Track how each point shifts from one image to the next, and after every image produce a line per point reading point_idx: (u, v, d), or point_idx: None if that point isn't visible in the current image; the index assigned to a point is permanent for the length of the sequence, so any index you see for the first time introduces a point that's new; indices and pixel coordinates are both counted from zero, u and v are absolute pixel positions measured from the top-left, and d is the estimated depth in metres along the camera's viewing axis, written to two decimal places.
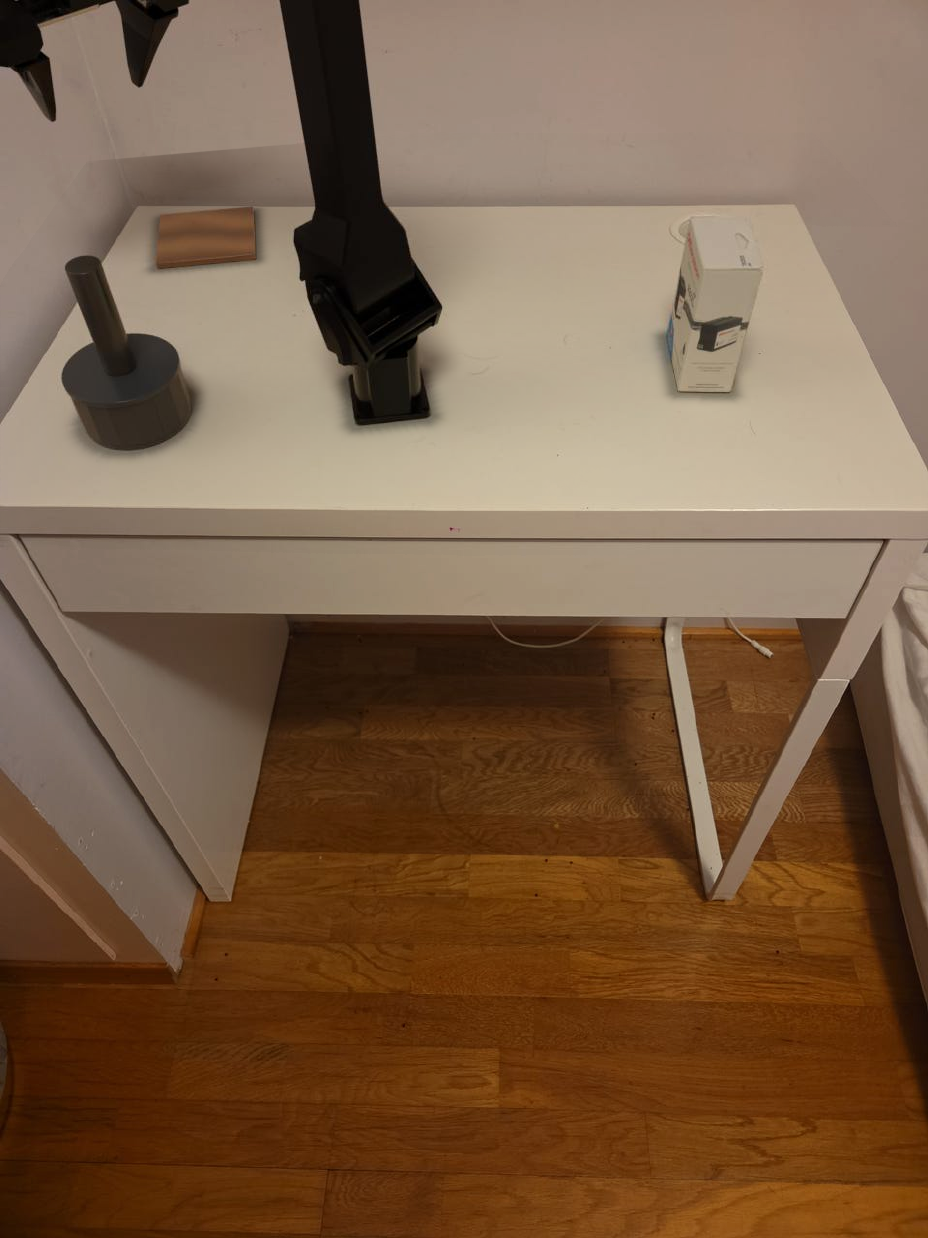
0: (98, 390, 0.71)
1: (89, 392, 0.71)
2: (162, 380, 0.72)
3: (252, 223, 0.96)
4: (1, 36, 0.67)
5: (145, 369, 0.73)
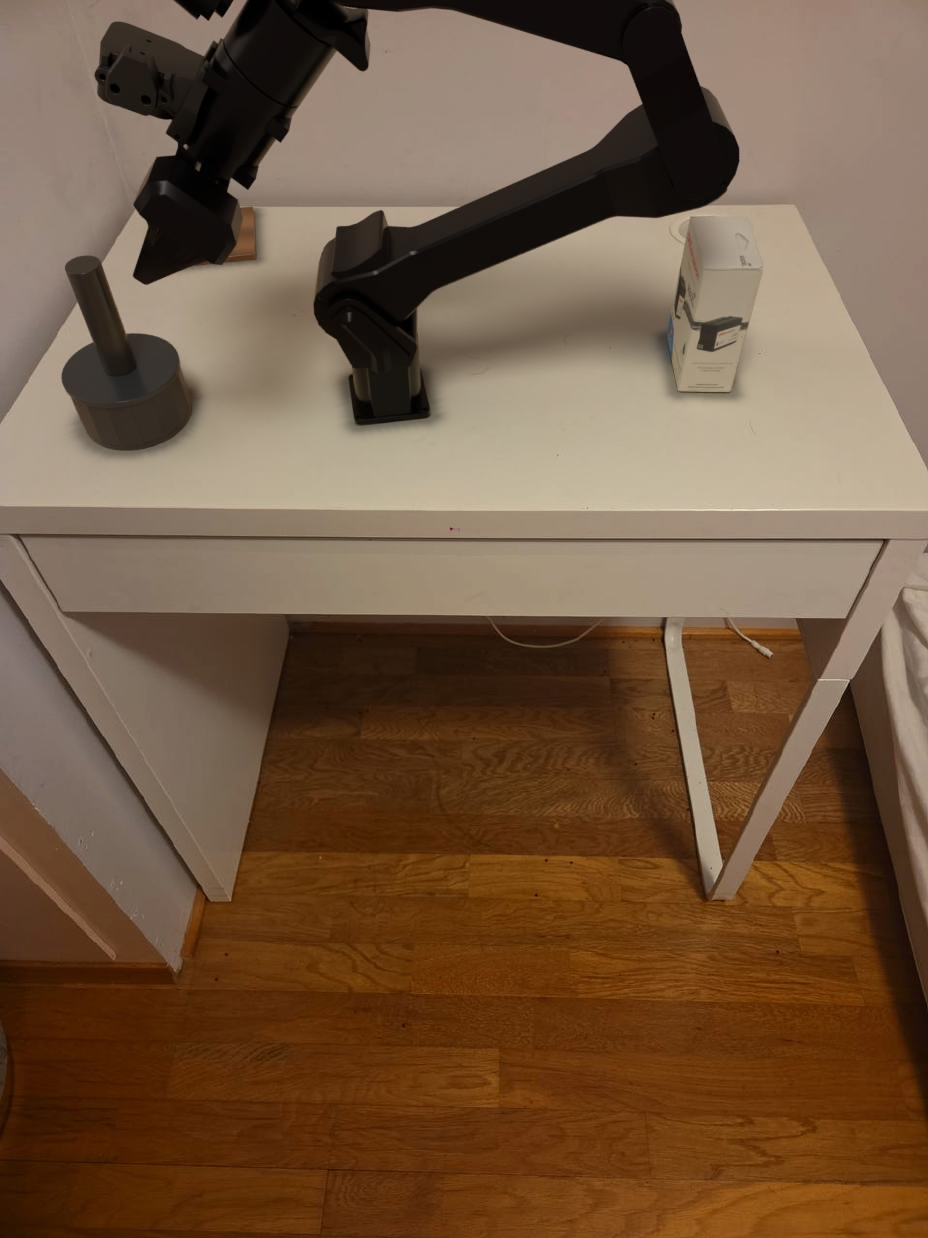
0: (98, 390, 0.71)
1: (89, 392, 0.71)
2: (162, 380, 0.72)
3: (252, 223, 0.96)
4: (235, 237, 0.57)
5: (145, 369, 0.73)
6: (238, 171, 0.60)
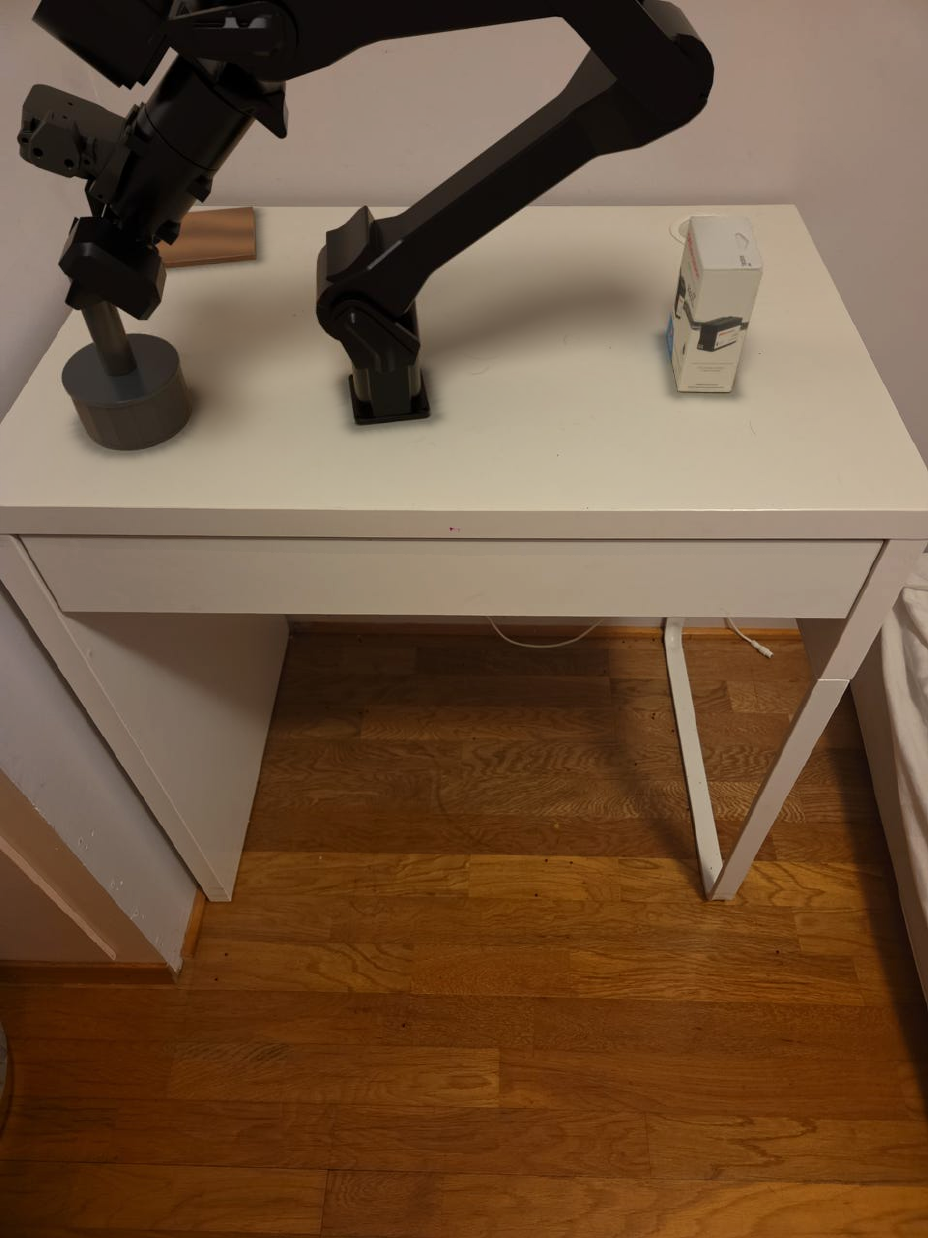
0: (98, 390, 0.71)
1: (89, 392, 0.71)
2: (162, 380, 0.72)
3: (252, 223, 0.96)
4: (160, 294, 0.59)
5: (145, 369, 0.73)
6: (161, 228, 0.62)
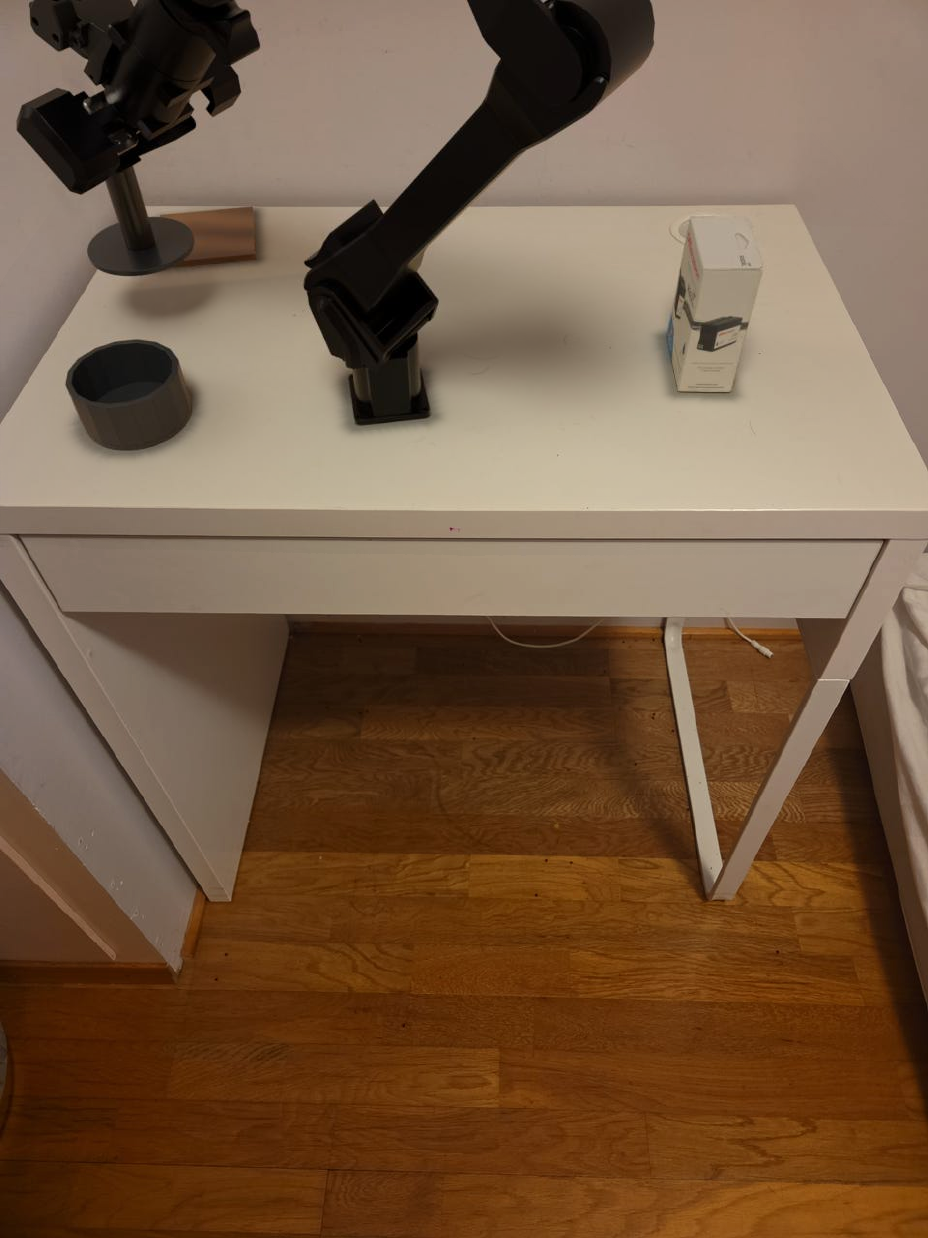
0: (105, 254, 0.79)
1: (99, 253, 0.79)
2: (154, 265, 0.78)
3: (252, 223, 0.96)
4: (88, 174, 0.65)
5: (153, 251, 0.79)
6: (139, 122, 0.67)
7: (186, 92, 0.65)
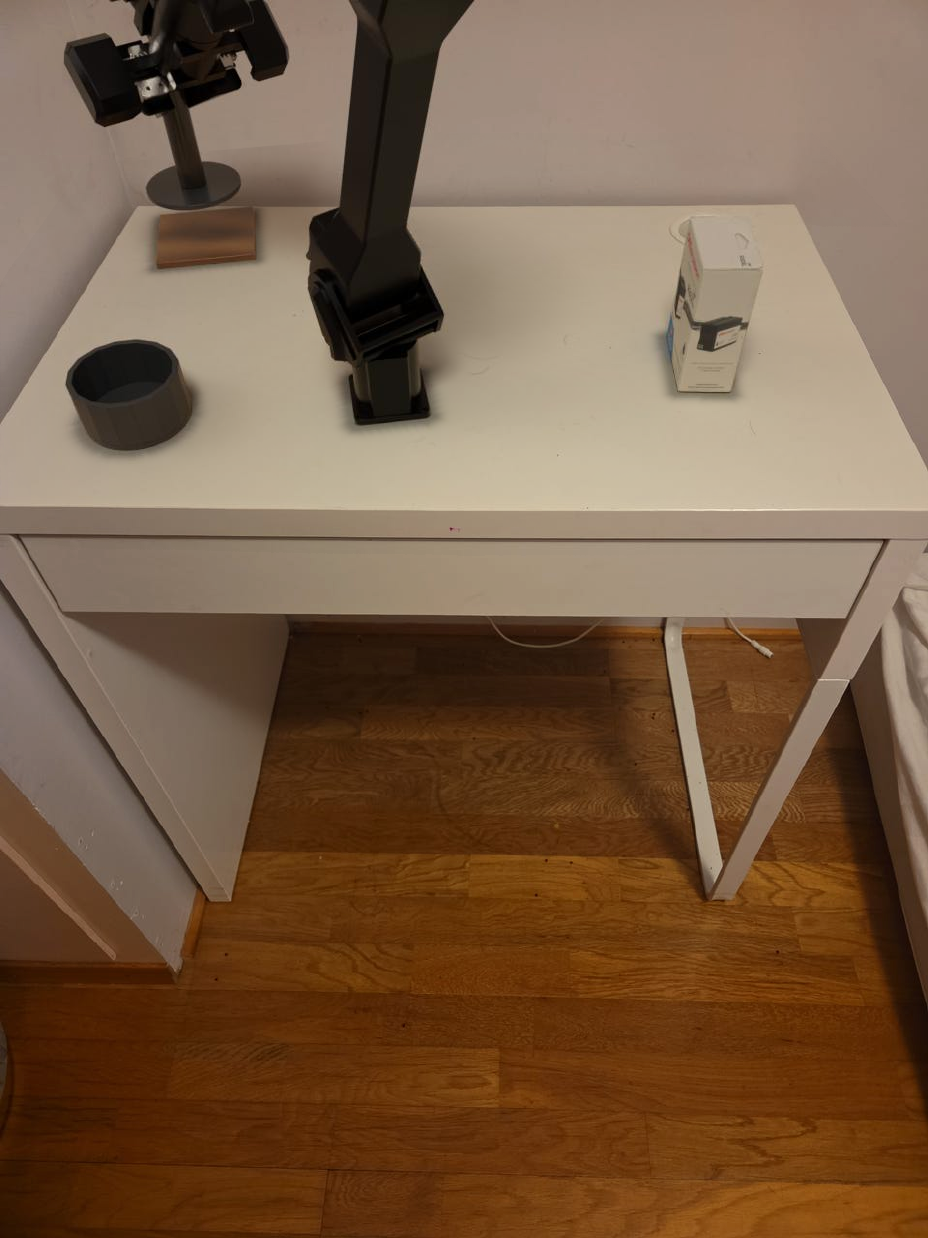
0: (160, 186, 0.90)
1: (155, 184, 0.90)
2: (189, 203, 0.87)
3: (252, 223, 0.96)
4: (106, 110, 0.74)
5: (197, 192, 0.89)
6: (168, 73, 0.76)
7: (201, 53, 0.73)
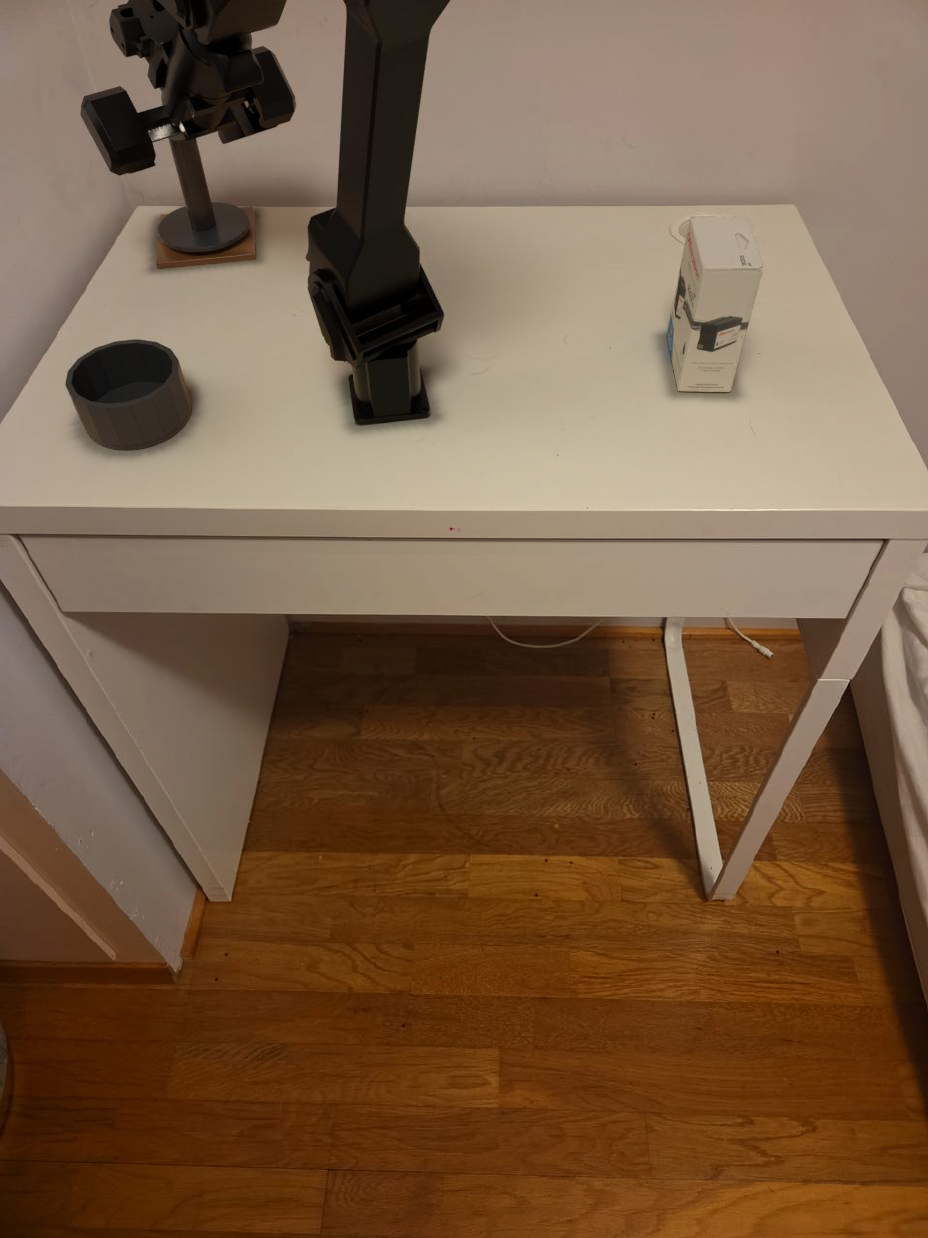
0: (171, 227, 0.93)
1: (167, 225, 0.93)
2: (200, 245, 0.91)
3: (252, 223, 0.96)
4: (121, 160, 0.78)
5: (207, 233, 0.92)
6: (181, 124, 0.79)
7: (212, 107, 0.76)
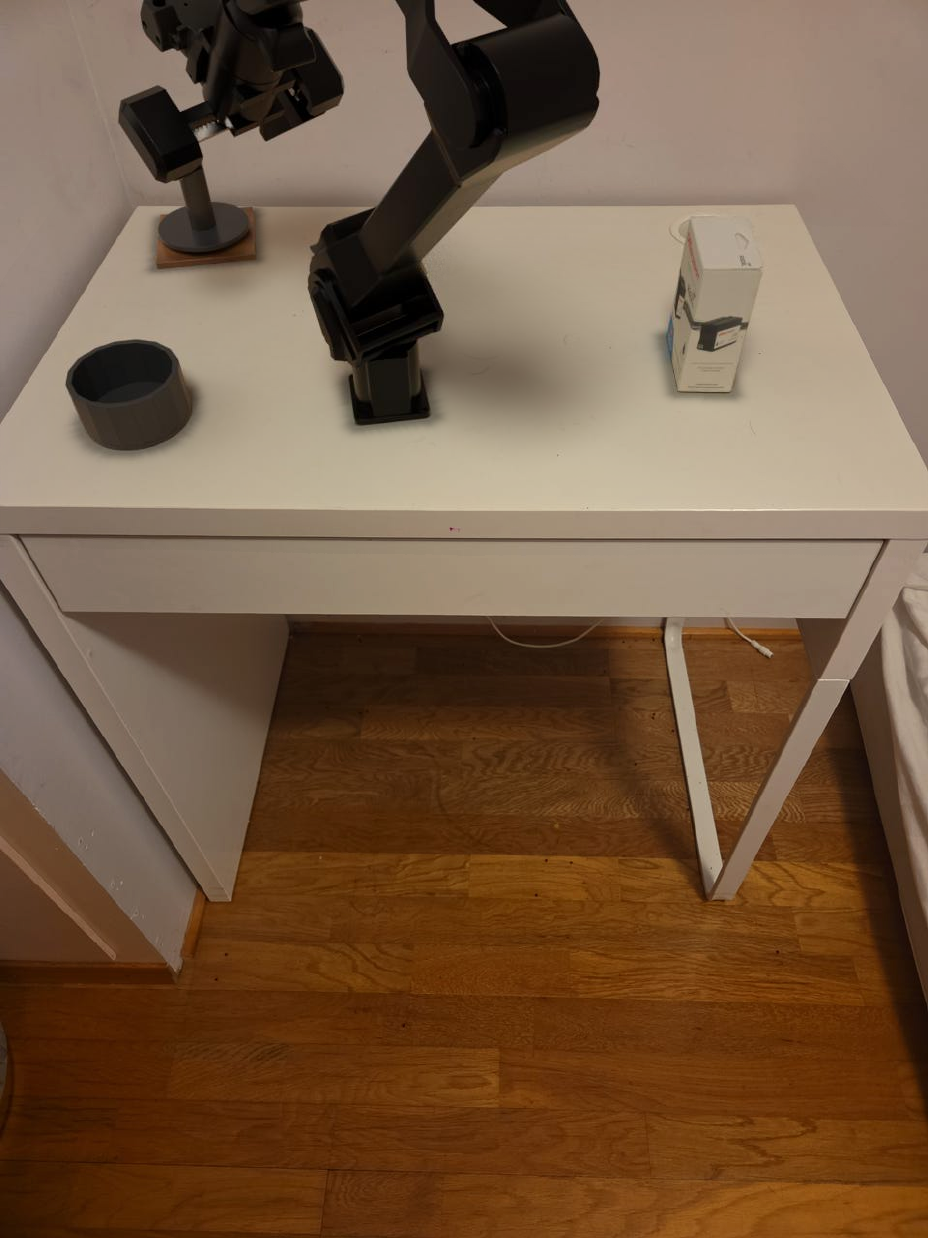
0: (171, 227, 0.93)
1: (167, 225, 0.93)
2: (200, 245, 0.91)
3: (252, 223, 0.96)
4: (168, 166, 0.71)
5: (207, 233, 0.92)
6: (226, 119, 0.72)
7: (262, 94, 0.69)
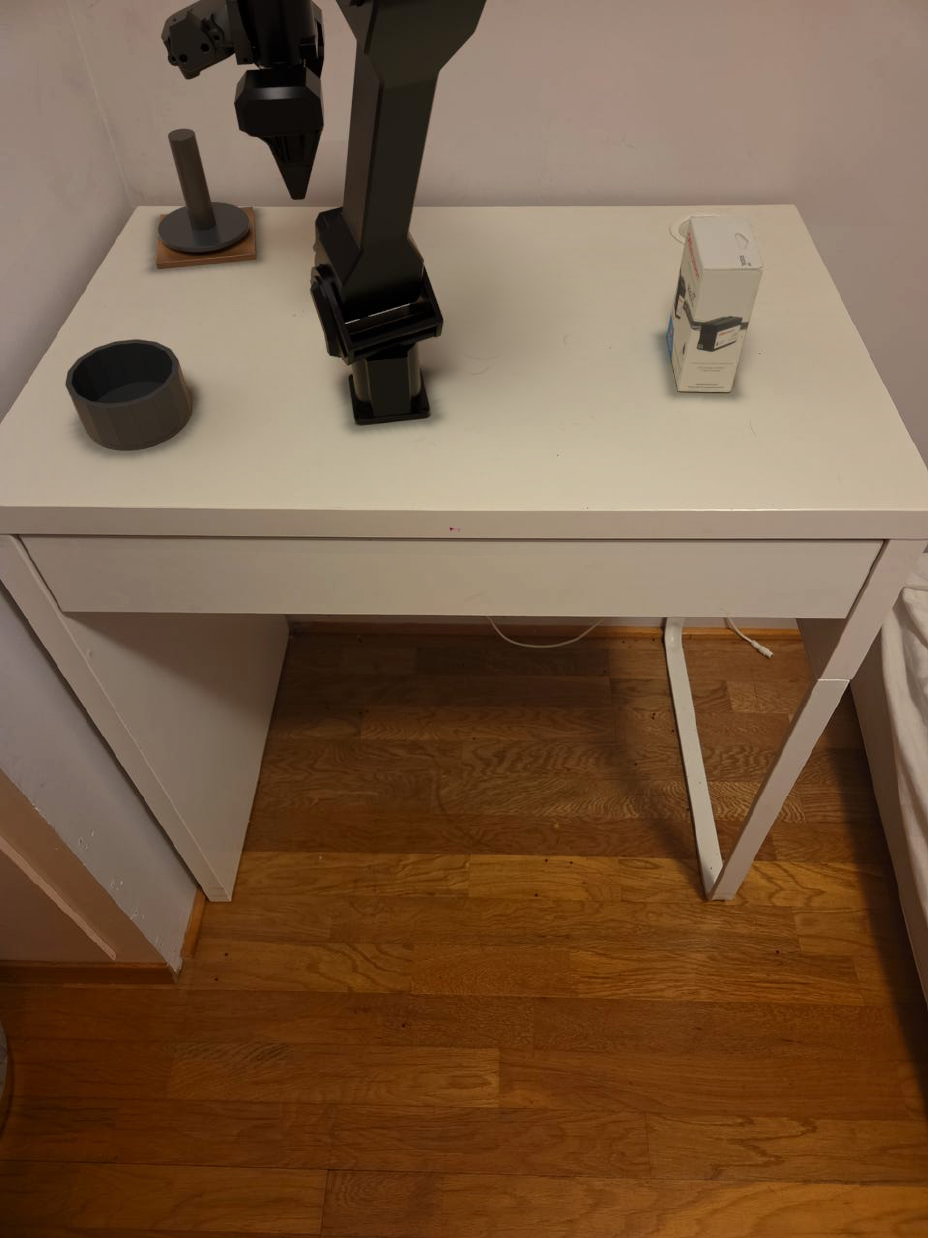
0: (171, 227, 0.93)
1: (167, 225, 0.93)
2: (200, 245, 0.91)
3: (252, 223, 0.96)
4: (316, 93, 0.64)
5: (207, 233, 0.92)
6: (300, 49, 0.67)
7: None
